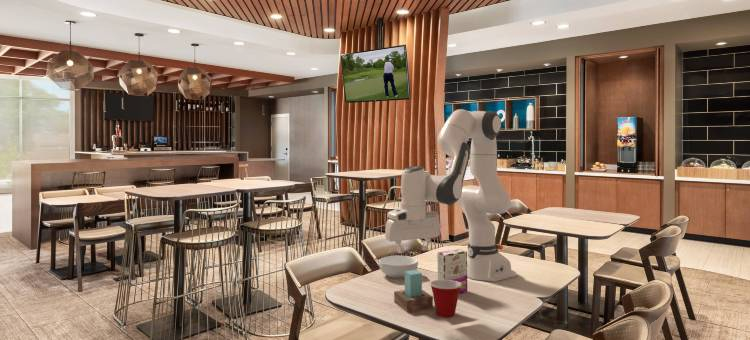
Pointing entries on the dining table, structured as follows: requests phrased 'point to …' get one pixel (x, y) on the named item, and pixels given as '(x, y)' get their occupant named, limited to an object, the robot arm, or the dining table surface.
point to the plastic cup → (445, 296)
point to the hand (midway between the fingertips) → (412, 251)
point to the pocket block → (413, 301)
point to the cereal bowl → (397, 265)
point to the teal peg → (413, 283)
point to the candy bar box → (453, 267)
